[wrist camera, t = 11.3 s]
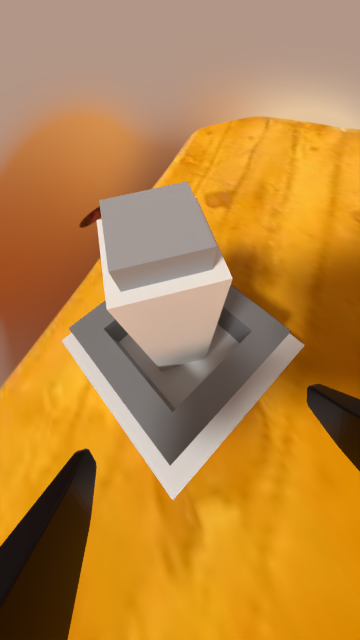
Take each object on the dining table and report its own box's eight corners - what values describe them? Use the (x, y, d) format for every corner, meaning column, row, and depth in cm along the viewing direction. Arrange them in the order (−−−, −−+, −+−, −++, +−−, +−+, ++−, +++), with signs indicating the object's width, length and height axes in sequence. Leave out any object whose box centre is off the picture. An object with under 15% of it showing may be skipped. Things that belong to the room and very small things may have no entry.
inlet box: (173, 495, 14) (167, 531, 10) (66, 343, 19) (34, 327, 15) (300, 347, 18) (331, 331, 14) (182, 254, 23) (180, 223, 19)
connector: (205, 358, 17) (240, 255, 5) (161, 370, 17) (90, 292, 5) (192, 319, 19) (197, 170, 7) (152, 329, 18) (83, 194, 6)
